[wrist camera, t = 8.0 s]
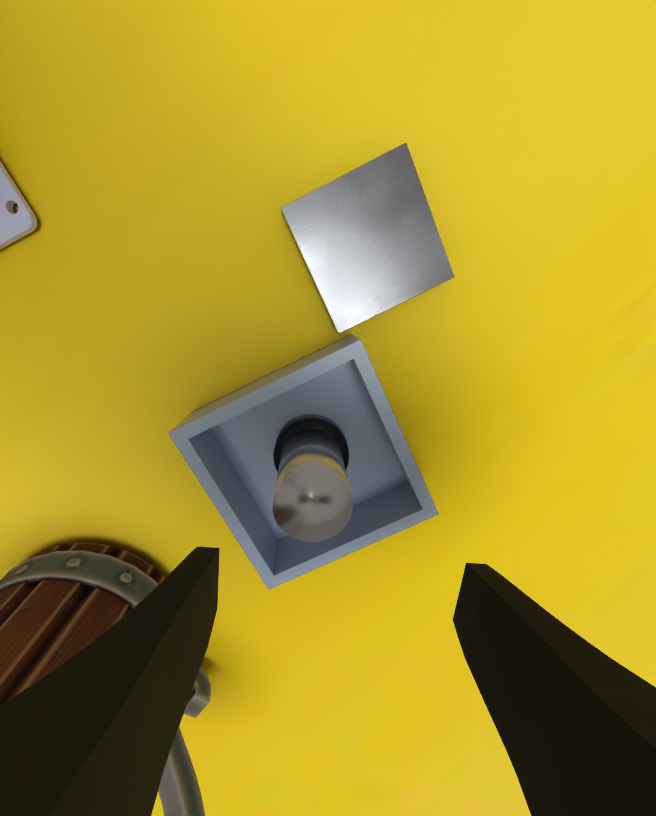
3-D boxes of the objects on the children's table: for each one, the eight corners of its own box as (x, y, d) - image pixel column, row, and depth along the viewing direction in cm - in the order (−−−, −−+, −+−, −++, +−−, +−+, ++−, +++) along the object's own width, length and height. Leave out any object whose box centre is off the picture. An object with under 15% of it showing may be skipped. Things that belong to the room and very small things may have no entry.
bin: (193, 411, 19) (168, 433, 16) (351, 334, 18) (360, 339, 15) (274, 545, 21) (268, 589, 18) (417, 481, 21) (438, 514, 17)
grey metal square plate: (282, 213, 17) (281, 207, 16) (400, 152, 16) (406, 142, 16) (337, 332, 18) (338, 333, 17) (446, 278, 18) (454, 276, 17)
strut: (271, 475, 20) (255, 545, 14) (280, 408, 19) (268, 453, 13) (339, 484, 20) (353, 556, 14) (352, 419, 19) (372, 467, 13)
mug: (-25, 628, 22) (-672, 1245, 7) (60, 501, 20) (-581, 996, 6) (197, 733, 25) (44, 1313, 11) (288, 631, 23) (255, 1165, 9)
